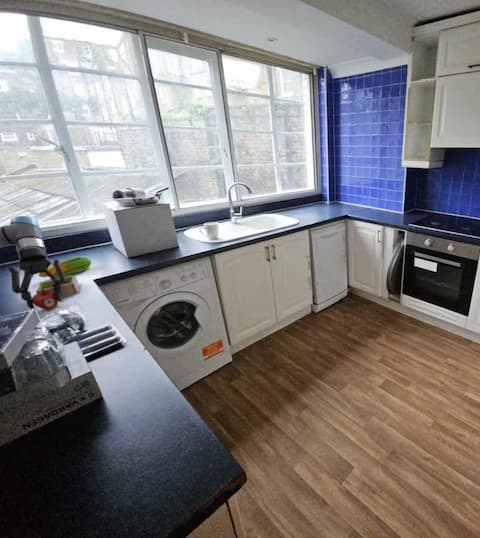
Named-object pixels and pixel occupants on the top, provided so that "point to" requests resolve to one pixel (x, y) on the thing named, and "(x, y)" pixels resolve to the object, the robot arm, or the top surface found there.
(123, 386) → the top surface
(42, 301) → the apple
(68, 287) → the wooden crate
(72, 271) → the corn
